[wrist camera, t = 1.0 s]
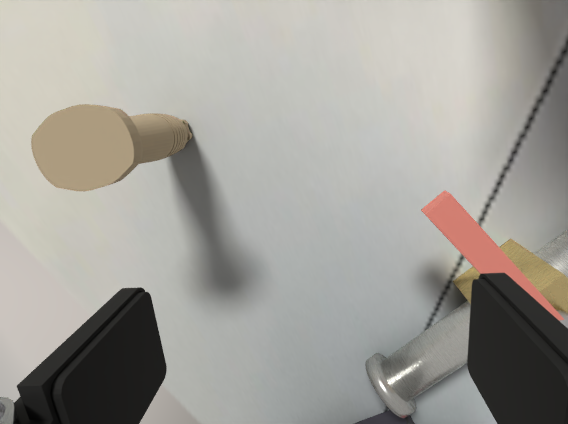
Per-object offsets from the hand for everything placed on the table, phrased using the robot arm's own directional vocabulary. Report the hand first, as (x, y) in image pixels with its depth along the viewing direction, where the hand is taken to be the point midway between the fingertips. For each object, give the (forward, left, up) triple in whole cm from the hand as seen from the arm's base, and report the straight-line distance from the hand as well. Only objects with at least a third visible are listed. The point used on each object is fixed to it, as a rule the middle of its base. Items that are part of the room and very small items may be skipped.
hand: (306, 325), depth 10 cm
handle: (+7, -12, -26) cm, 30 cm away
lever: (-6, +15, -18) cm, 24 cm away
